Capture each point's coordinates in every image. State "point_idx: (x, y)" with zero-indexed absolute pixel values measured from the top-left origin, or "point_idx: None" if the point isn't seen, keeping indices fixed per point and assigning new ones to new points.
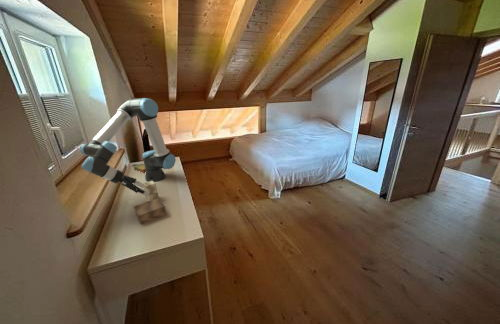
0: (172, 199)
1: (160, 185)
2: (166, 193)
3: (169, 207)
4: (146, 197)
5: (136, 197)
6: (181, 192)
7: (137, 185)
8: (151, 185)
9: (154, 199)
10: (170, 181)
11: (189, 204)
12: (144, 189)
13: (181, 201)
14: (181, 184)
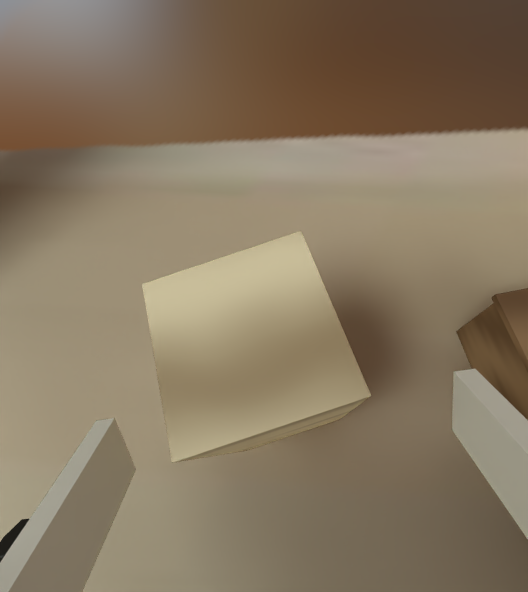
0: (370, 230)
1: (28, 300)
2: None
3: (516, 261)
4: (252, 447)
5: (114, 565)
6: (280, 165)
7: (83, 582)
8: (331, 305)
9: (519, 345)
10: (20, 222)
11: (518, 131)
12: (227, 451)
13: (441, 174)
14: (140, 156)
